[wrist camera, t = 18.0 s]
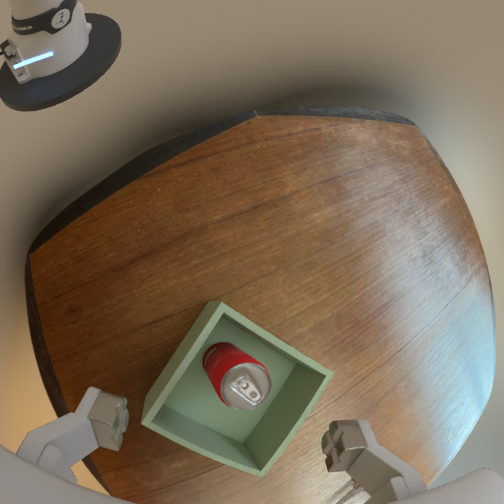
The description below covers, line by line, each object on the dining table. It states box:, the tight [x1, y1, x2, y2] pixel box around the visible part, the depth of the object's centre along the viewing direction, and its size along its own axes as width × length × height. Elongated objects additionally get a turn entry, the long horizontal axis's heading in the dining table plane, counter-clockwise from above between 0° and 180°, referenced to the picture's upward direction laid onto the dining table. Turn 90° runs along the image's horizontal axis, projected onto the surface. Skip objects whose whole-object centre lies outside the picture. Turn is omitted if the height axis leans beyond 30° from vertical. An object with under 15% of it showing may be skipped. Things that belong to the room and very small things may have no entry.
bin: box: [141, 301, 334, 477], centre depth 32 cm, size 16×16×9 cm
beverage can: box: [202, 342, 272, 411], centre depth 30 cm, size 5×5×12 cm
